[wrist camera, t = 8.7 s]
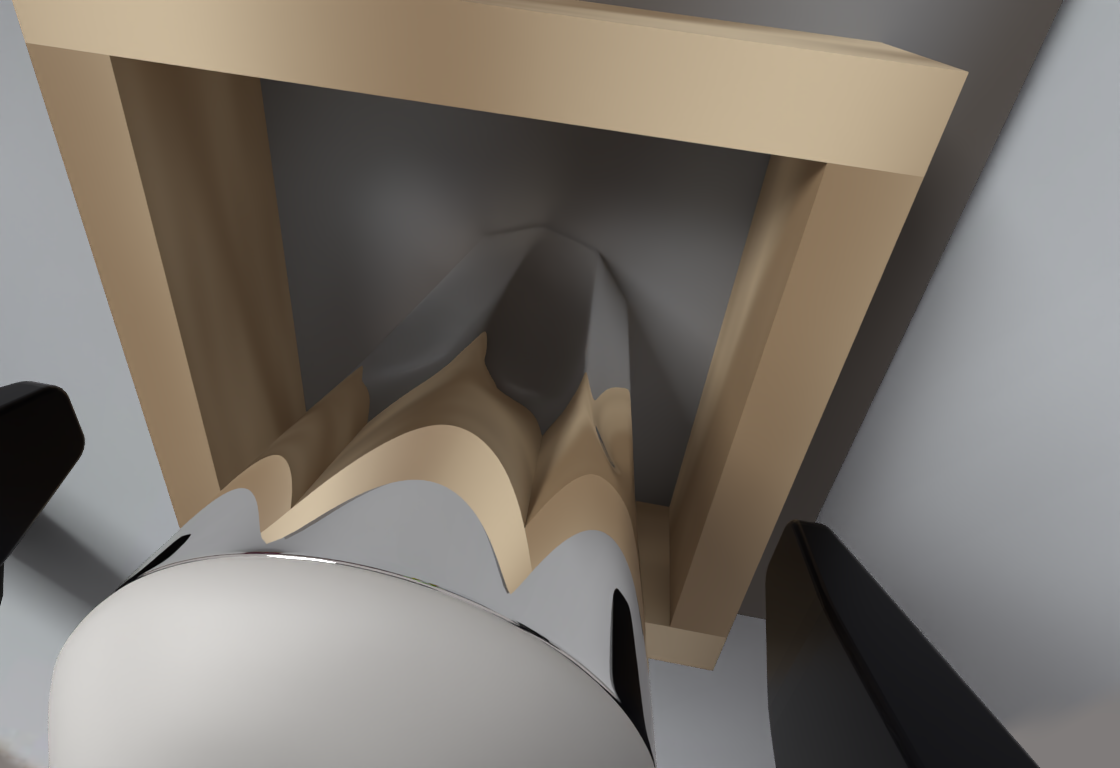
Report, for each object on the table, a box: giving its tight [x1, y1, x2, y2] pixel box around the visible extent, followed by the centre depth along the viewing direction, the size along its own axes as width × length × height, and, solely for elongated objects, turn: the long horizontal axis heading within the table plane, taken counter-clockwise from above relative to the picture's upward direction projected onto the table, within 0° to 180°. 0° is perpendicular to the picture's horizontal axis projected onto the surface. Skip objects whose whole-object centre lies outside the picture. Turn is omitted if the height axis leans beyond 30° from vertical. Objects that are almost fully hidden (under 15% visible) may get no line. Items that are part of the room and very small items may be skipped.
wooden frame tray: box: [12, 0, 1063, 671], centre depth 11 cm, size 14×14×3 cm
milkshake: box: [48, 226, 657, 768], centre depth 7 cm, size 4×5×10 cm
